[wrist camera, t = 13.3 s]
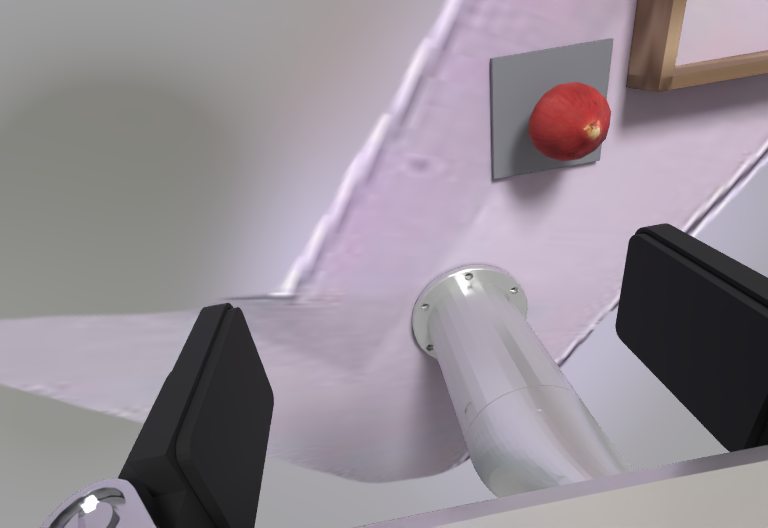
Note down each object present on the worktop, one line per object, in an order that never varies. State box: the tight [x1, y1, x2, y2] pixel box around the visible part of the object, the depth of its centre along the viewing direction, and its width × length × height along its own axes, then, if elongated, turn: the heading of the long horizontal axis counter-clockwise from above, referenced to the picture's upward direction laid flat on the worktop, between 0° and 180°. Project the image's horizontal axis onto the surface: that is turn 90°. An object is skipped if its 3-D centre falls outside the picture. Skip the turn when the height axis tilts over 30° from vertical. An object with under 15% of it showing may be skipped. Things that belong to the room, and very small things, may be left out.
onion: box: [529, 82, 611, 161], centre depth 32 cm, size 6×6×8 cm
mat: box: [490, 39, 613, 179], centre depth 36 cm, size 10×10×1 cm
